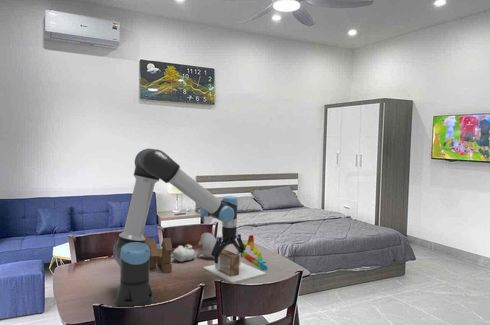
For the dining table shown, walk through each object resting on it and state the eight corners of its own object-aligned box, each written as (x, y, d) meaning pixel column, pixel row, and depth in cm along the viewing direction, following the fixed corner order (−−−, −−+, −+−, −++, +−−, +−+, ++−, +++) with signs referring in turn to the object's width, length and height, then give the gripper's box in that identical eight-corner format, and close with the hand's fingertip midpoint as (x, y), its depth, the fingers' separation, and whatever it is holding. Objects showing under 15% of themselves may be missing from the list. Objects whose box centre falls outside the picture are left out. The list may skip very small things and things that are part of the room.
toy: (194, 260, 212) (228, 262, 208) (194, 233, 211) (228, 235, 207) (199, 256, 220) (231, 257, 216) (199, 230, 220) (231, 232, 216)
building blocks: (135, 280, 176) (136, 208, 175) (127, 265, 198) (128, 200, 197) (174, 275, 185) (176, 206, 183) (162, 261, 207) (164, 199, 205)
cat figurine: (195, 242, 215) (172, 242, 205) (200, 251, 209) (178, 253, 200) (188, 253, 218) (166, 255, 208) (194, 263, 213) (171, 265, 203)
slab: (230, 276, 183) (231, 257, 183) (217, 270, 193) (217, 251, 192) (238, 274, 187) (239, 255, 186) (224, 268, 196) (225, 249, 196)
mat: (232, 283, 177) (232, 281, 177) (203, 268, 197) (203, 267, 197) (266, 274, 191) (266, 273, 191) (235, 261, 211) (235, 260, 211)
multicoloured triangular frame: (267, 270, 199) (268, 242, 198) (262, 270, 197) (263, 243, 197) (244, 254, 226) (245, 230, 226) (239, 254, 225) (240, 230, 224)
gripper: (213, 230, 178) (212, 273, 179) (252, 224, 194) (251, 264, 195) (205, 227, 184) (203, 269, 184) (243, 222, 199) (242, 260, 200)
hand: (228, 266), depth 190 cm, fingers open, 13 cm apart
